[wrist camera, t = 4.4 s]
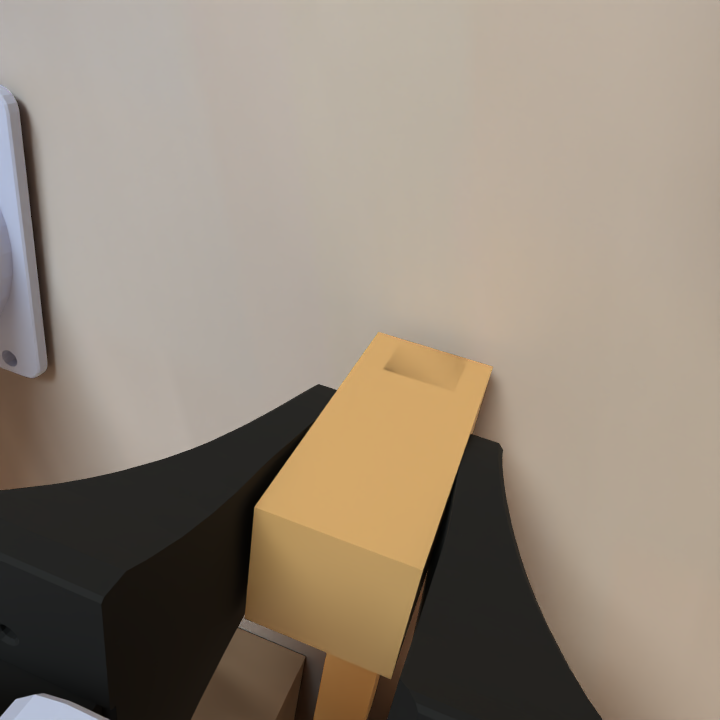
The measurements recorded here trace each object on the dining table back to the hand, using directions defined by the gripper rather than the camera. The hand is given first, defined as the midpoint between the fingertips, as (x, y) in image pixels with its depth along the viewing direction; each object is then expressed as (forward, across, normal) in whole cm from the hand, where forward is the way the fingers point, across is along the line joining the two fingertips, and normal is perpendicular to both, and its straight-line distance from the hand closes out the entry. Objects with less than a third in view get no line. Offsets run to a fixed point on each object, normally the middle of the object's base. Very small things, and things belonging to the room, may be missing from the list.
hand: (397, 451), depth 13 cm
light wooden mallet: (+2, 0, +5) cm, 6 cm away
